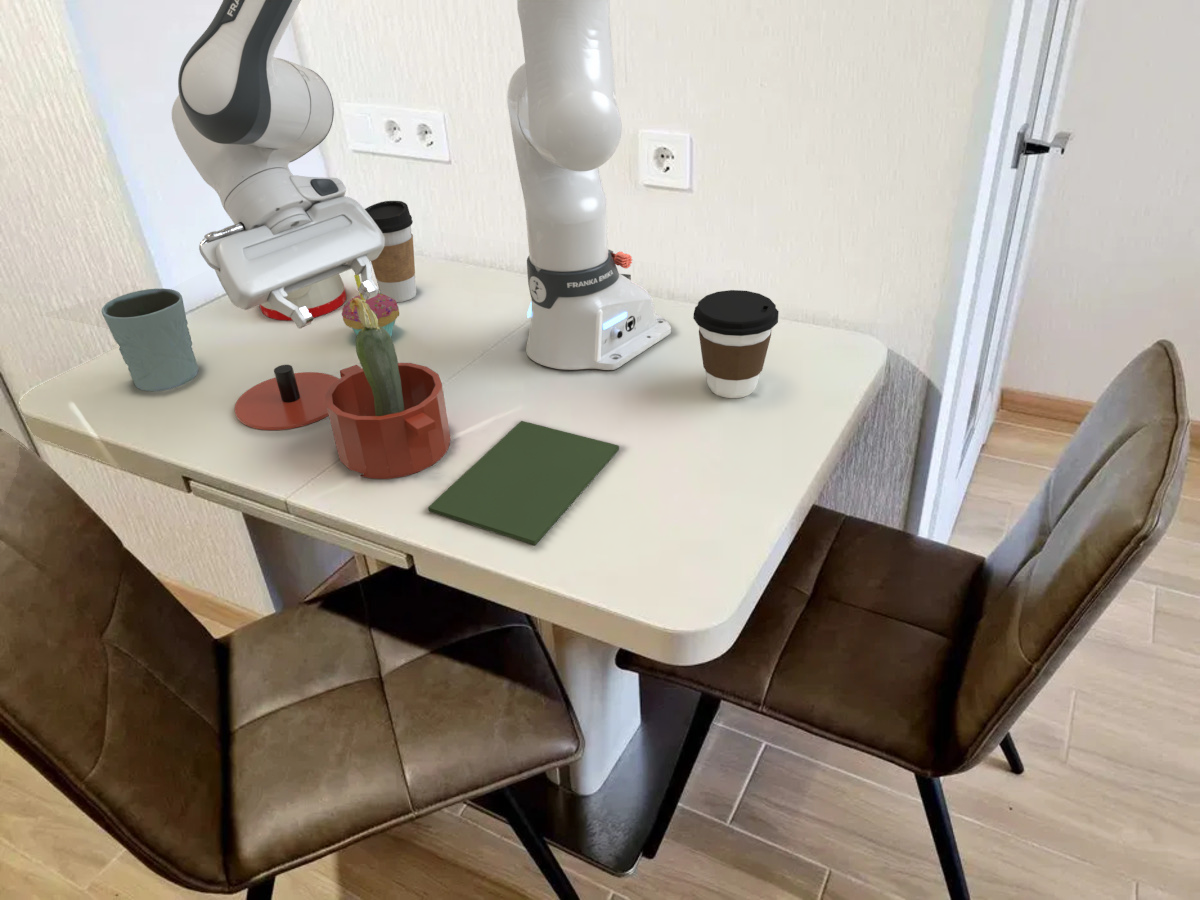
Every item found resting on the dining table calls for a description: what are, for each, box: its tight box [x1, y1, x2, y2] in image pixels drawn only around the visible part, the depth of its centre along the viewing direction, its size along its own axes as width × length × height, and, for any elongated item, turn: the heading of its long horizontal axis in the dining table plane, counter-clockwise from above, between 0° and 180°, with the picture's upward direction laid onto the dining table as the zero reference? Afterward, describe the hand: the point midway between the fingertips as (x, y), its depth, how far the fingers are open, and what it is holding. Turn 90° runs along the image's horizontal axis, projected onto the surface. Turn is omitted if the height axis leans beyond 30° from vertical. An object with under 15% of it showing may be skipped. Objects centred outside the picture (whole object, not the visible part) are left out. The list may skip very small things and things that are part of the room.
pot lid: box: [234, 364, 340, 431], centre depth 118 cm, size 15×15×6 cm
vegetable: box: [349, 297, 404, 416], centre depth 104 cm, size 4×4×20 cm
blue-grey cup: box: [100, 288, 199, 392], centre depth 123 cm, size 10×10×12 cm
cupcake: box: [341, 273, 400, 338], centre depth 132 cm, size 9×8×12 cm
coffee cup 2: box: [692, 289, 780, 399], centre depth 115 cm, size 11×11×12 cm
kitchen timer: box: [259, 273, 347, 322], centre depth 143 cm, size 14×14×15 cm
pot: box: [325, 362, 452, 480], centre depth 107 cm, size 14×19×8 cm
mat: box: [427, 420, 620, 546], centre depth 103 cm, size 20×14×1 cm
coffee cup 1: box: [364, 200, 417, 303], centre depth 144 cm, size 8×8×15 cm
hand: (340, 309), depth 103 cm, fingers open, 8 cm apart
